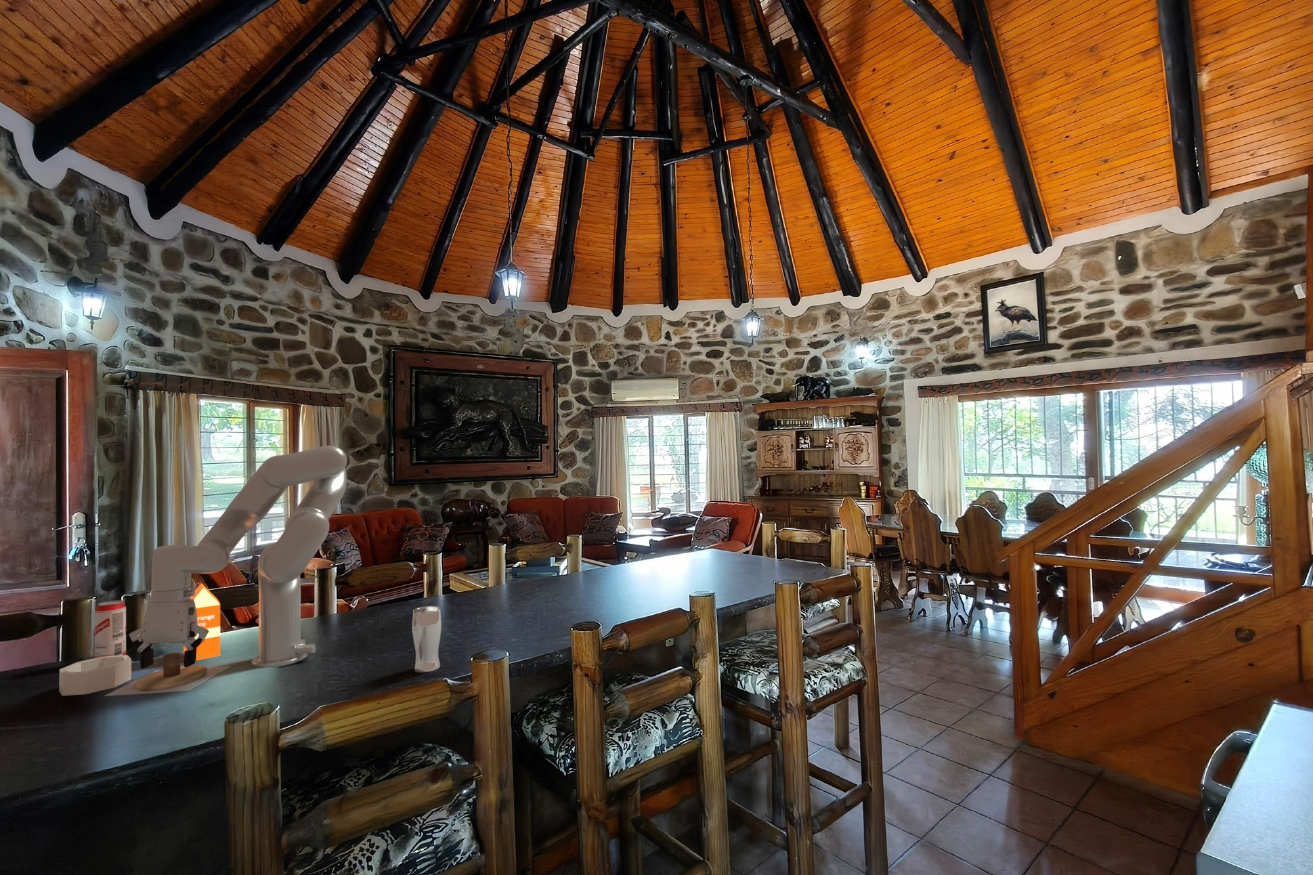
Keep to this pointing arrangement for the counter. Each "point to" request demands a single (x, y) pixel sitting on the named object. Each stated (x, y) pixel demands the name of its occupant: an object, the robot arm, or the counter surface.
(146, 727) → the counter surface
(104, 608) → the beer can
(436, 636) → the beer glass
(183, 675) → the lid
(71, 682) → the bowl
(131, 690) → the mat
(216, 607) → the orange juice
